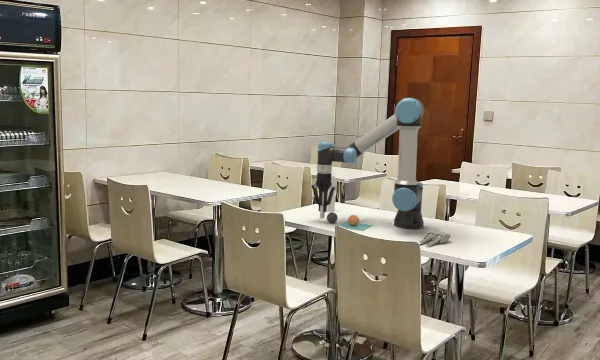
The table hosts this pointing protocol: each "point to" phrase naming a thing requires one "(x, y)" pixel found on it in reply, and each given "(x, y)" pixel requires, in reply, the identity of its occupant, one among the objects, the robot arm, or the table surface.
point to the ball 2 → (353, 220)
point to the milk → (332, 204)
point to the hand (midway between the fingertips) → (322, 217)
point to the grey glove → (435, 237)
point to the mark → (357, 227)
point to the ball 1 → (332, 217)
